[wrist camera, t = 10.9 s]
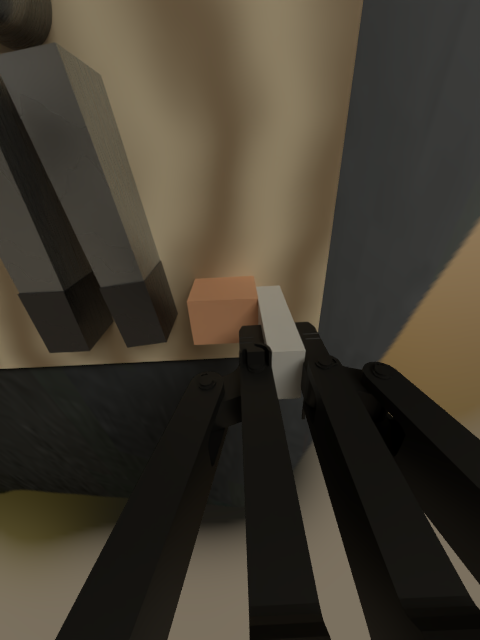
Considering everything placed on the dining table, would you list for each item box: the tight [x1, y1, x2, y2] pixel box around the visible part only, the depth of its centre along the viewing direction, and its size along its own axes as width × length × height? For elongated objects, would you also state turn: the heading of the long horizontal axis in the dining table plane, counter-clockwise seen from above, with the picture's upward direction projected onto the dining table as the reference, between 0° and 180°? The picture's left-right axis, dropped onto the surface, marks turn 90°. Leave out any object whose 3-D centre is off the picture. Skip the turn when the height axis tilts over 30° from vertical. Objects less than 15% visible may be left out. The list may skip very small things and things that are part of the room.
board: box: [0, 0, 363, 369], centre depth 16 cm, size 30×22×1 cm
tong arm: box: [0, 42, 178, 348], centre depth 14 cm, size 13×2×4 cm, turn 9°
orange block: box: [187, 276, 258, 345], centre depth 16 cm, size 4×3×4 cm
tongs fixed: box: [0, 0, 114, 353], centre depth 12 cm, size 18×5×4 cm, turn 3°
